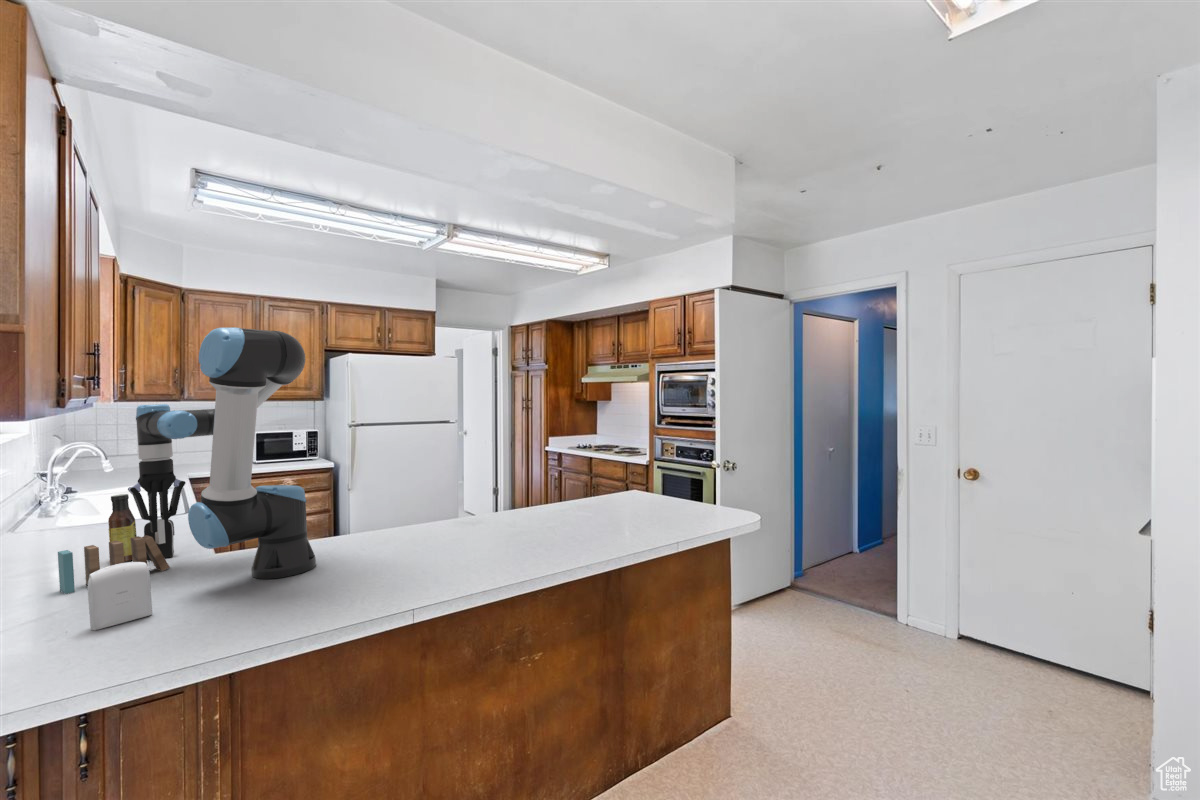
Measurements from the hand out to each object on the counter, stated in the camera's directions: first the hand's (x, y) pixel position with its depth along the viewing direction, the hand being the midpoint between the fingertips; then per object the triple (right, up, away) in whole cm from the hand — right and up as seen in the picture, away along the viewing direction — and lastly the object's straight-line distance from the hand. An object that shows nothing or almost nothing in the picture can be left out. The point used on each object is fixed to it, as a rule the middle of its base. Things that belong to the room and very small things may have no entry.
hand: (160, 542), depth 158 cm
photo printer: (+21, -8, -38) cm, 44 cm away
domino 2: (-8, -8, -12) cm, 17 cm away
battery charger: (-9, -8, +12) cm, 17 cm away
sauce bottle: (-19, -8, +11) cm, 23 cm away
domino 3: (-5, -8, -8) cm, 12 cm away
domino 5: (0, -7, 0) cm, 7 cm away
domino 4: (-2, -8, -4) cm, 9 cm away
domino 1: (-11, -8, -16) cm, 21 cm away
